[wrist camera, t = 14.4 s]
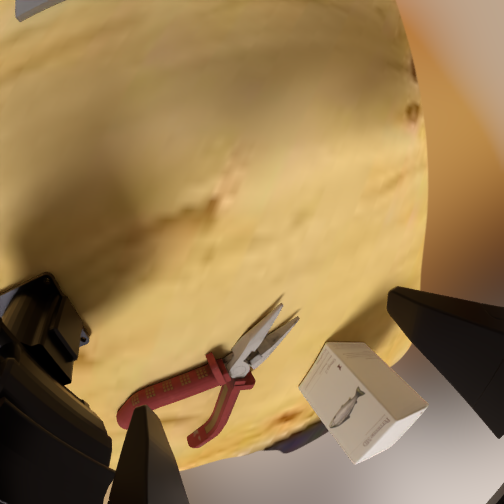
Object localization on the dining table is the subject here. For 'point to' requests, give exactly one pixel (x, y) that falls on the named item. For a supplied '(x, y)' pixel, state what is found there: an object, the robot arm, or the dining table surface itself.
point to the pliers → (214, 379)
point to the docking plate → (32, 7)
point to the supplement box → (360, 399)
